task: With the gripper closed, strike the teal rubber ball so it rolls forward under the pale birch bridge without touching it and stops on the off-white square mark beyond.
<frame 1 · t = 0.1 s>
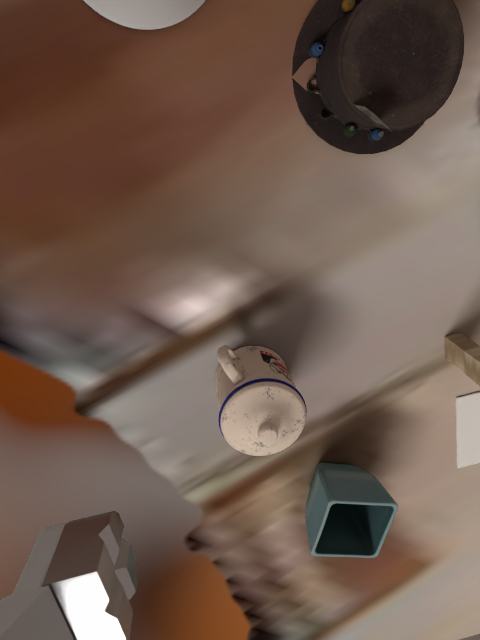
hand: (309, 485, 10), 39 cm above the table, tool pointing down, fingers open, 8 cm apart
flower pot: (330, 476, 61), on the table
top hat: (367, 70, 43), on the table
teacup with lid: (244, 367, 53), on the table
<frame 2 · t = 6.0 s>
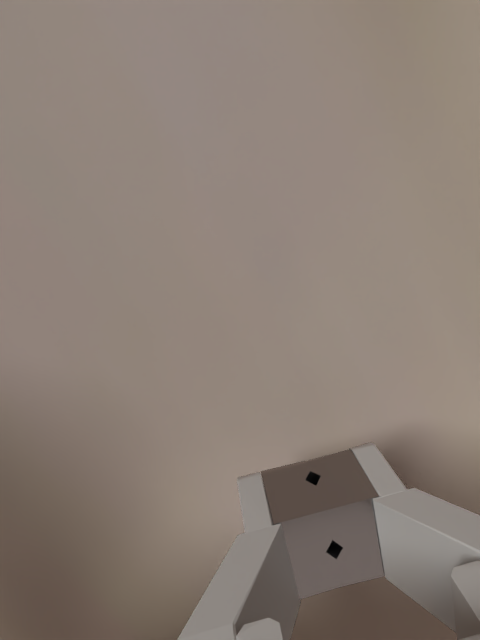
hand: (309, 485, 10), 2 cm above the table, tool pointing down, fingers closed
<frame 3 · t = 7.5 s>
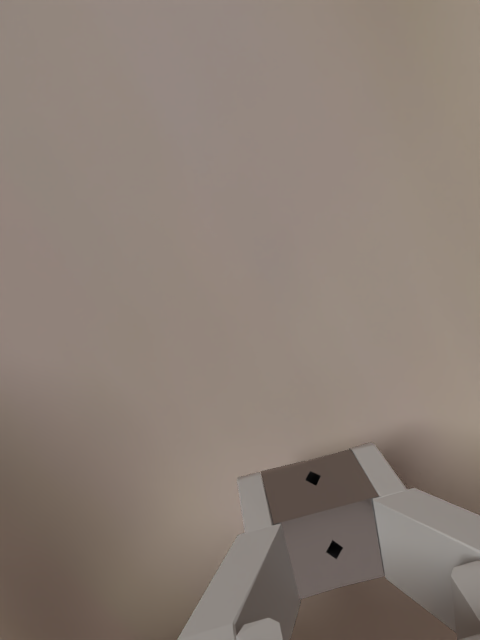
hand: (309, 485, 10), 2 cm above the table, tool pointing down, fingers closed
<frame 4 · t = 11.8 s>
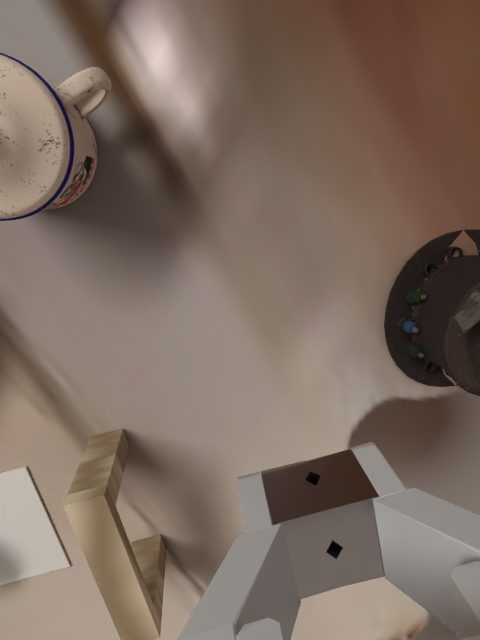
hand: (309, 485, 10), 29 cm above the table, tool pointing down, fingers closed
bridge: (130, 496, 43), on the table
top hat: (456, 310, 41), on the table
teacup with lid: (55, 139, 34), on the table
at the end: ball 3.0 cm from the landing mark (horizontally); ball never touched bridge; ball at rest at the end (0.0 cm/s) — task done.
